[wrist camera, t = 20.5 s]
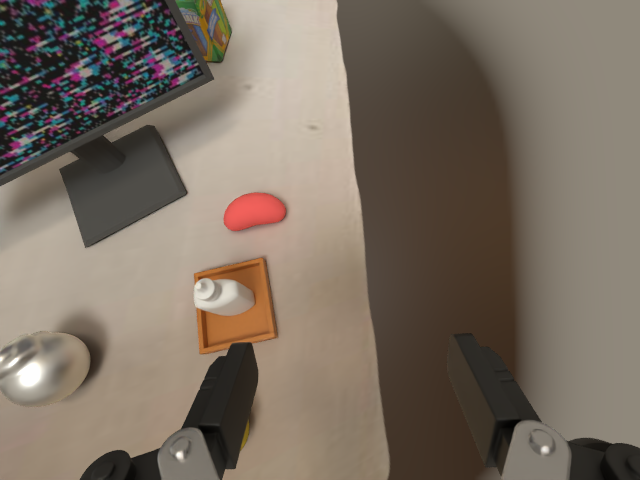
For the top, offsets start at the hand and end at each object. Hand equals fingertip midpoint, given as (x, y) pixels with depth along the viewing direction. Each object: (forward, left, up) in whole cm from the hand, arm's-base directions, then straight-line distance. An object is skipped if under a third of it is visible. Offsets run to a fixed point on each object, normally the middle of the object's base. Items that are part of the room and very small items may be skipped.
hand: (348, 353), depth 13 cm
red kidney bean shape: (+23, +9, -31) cm, 39 cm away
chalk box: (+64, +14, -31) cm, 72 cm away
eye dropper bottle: (+10, +14, -30) cm, 35 cm away
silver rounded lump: (+7, +38, -31) cm, 50 cm away
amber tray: (+10, +14, -31) cm, 35 cm away
